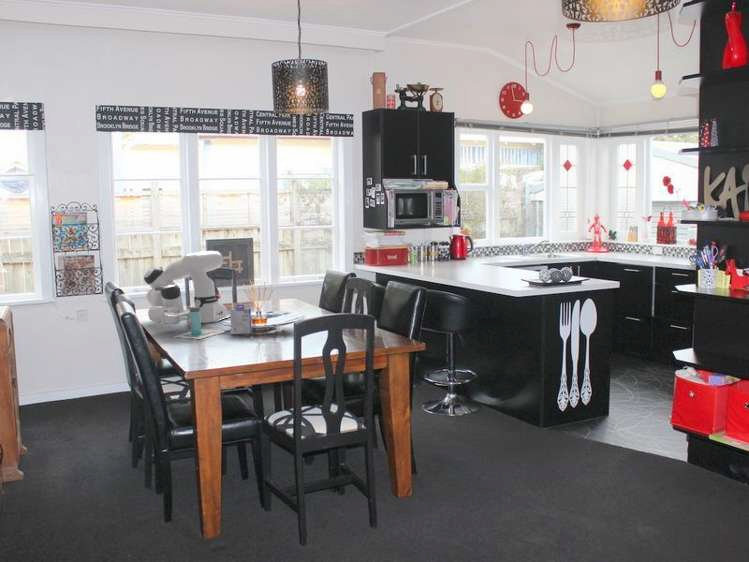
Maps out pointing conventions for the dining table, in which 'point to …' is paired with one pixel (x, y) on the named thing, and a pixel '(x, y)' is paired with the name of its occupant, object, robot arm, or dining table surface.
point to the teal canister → (195, 320)
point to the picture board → (204, 334)
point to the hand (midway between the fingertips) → (193, 316)
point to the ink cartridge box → (240, 320)
